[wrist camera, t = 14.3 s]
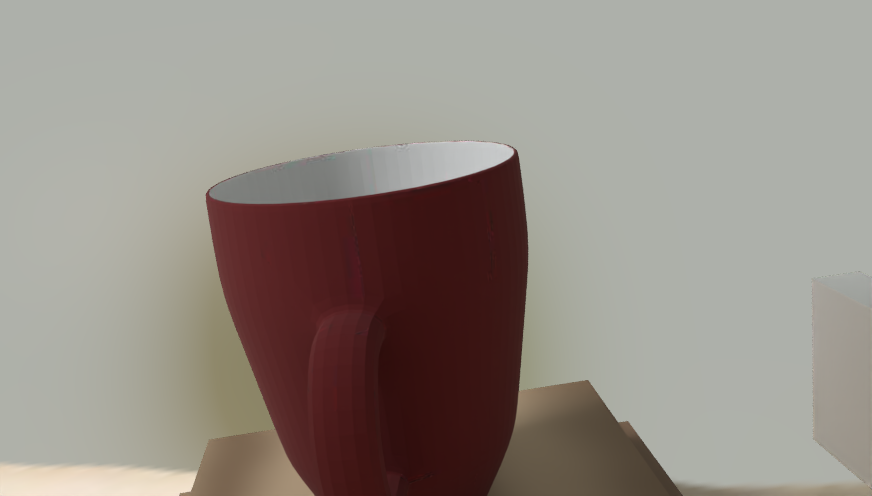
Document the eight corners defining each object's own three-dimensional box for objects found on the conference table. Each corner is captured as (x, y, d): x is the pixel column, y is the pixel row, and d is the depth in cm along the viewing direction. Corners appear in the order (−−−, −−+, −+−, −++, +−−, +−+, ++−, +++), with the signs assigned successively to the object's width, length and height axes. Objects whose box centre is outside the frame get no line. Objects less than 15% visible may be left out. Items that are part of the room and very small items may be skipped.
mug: (608, 652, 18) (569, 195, 15) (231, 705, 18) (129, 252, 15) (529, 427, 28) (498, 130, 25) (290, 459, 28) (235, 164, 25)
